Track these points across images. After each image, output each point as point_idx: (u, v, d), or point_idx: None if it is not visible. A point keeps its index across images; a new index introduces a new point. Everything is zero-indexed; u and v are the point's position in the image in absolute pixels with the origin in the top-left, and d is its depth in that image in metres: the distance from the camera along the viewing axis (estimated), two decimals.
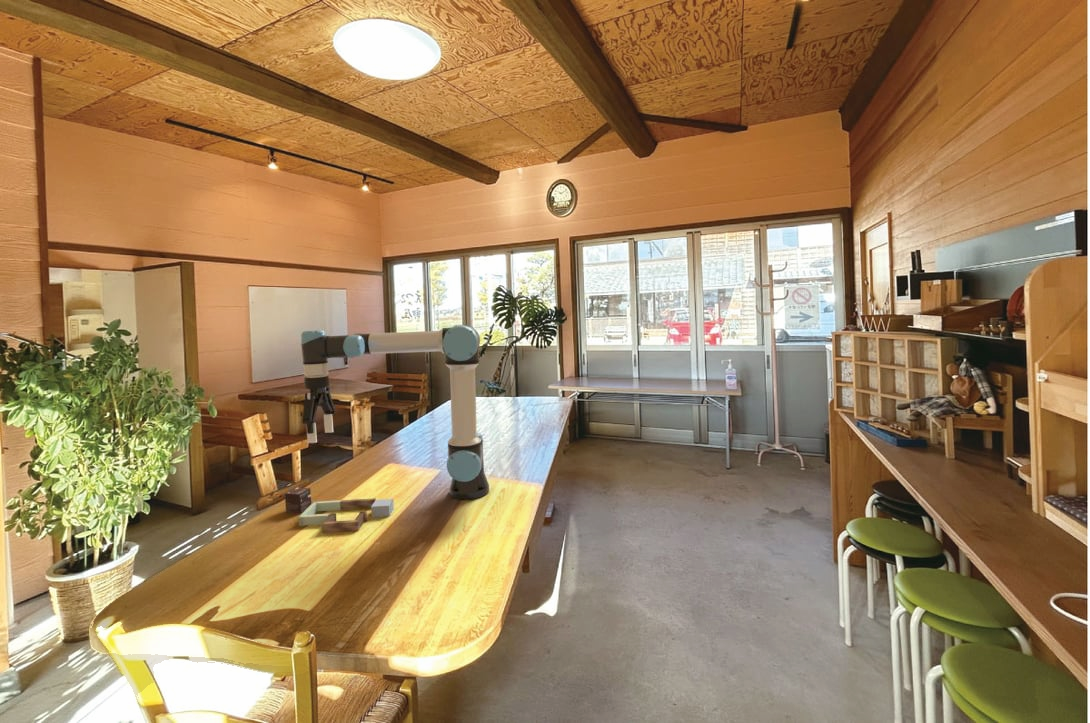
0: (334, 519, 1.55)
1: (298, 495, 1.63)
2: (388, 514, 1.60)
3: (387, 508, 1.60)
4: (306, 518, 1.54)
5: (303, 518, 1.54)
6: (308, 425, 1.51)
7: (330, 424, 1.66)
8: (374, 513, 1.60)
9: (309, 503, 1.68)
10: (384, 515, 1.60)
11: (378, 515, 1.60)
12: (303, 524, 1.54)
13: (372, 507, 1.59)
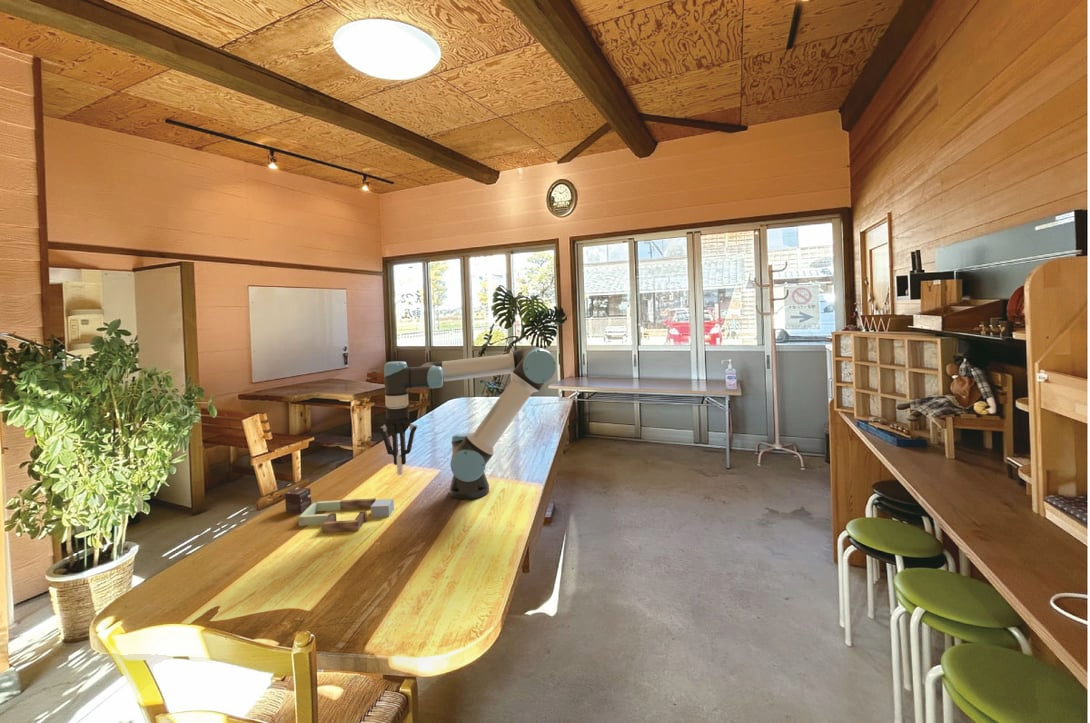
0: (334, 519, 1.55)
1: (298, 495, 1.63)
2: (388, 514, 1.60)
3: (387, 508, 1.60)
4: (306, 518, 1.54)
5: (303, 518, 1.54)
6: (394, 456, 1.62)
7: None
8: (374, 513, 1.60)
9: (309, 503, 1.68)
10: (384, 515, 1.60)
11: (378, 515, 1.60)
12: (303, 524, 1.54)
13: (372, 507, 1.60)
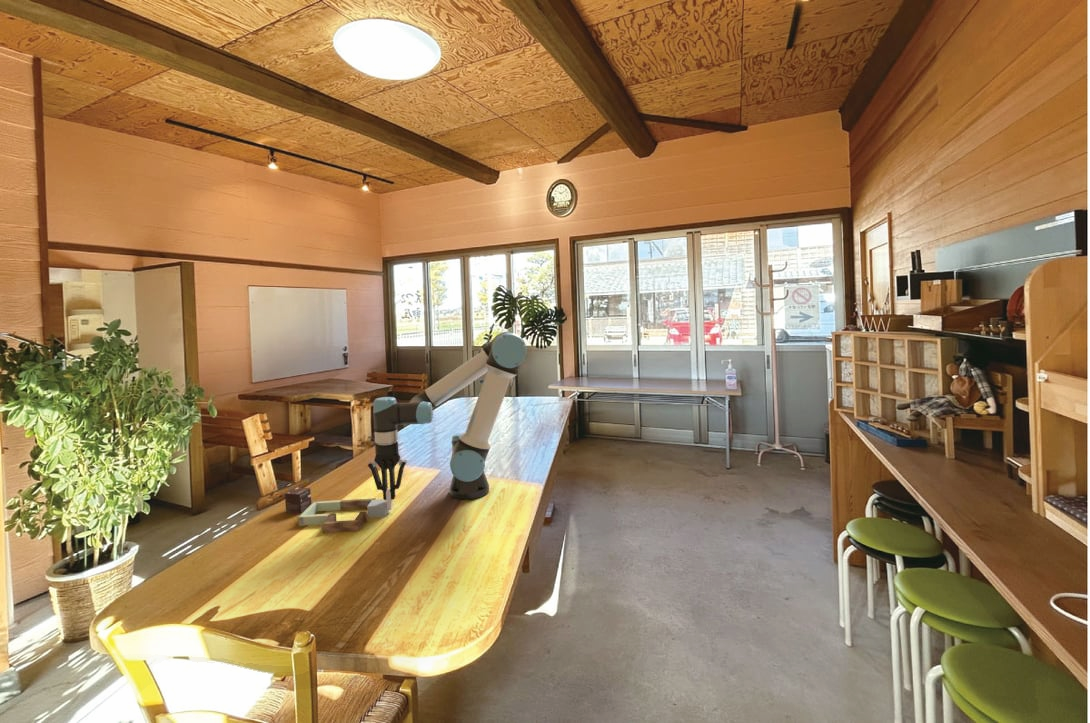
0: (334, 519, 1.55)
1: (298, 495, 1.63)
2: (384, 514, 1.60)
3: (383, 508, 1.60)
4: (306, 518, 1.54)
5: (303, 518, 1.54)
6: None
7: None
8: (370, 513, 1.60)
9: (309, 503, 1.68)
10: (380, 515, 1.60)
11: (374, 515, 1.60)
12: (303, 524, 1.54)
13: (368, 507, 1.59)
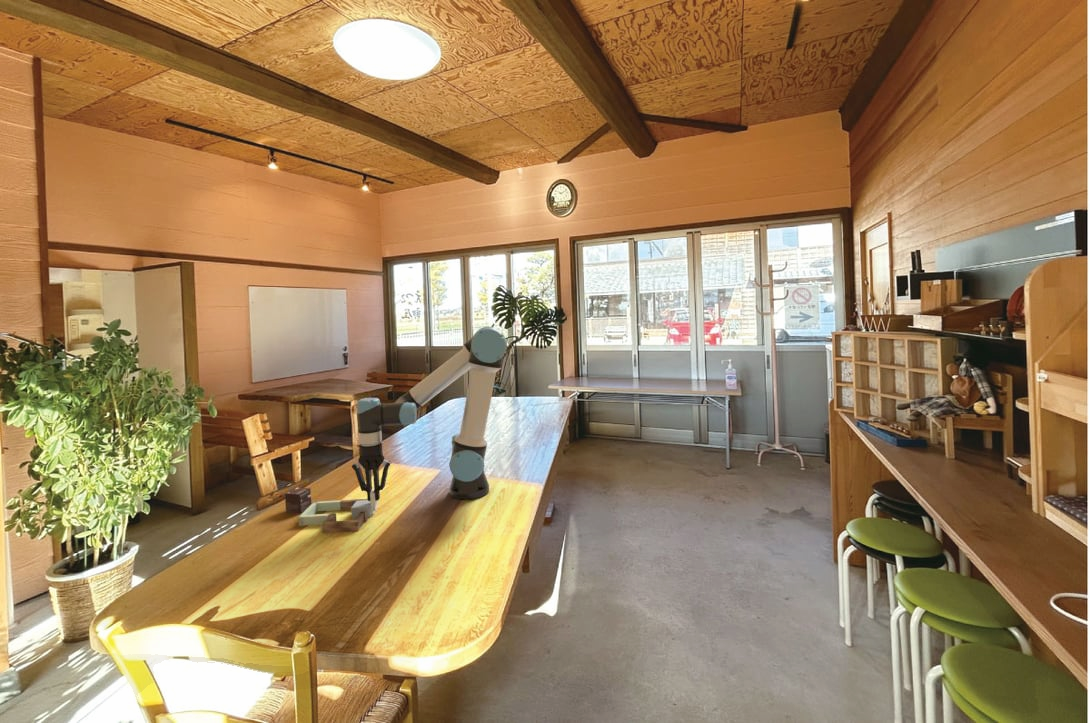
0: (334, 519, 1.55)
1: (298, 495, 1.63)
2: (368, 515, 1.59)
3: (367, 509, 1.59)
4: (306, 518, 1.54)
5: (303, 518, 1.54)
6: None
7: None
8: (355, 515, 1.59)
9: (309, 503, 1.68)
10: None
11: None
12: (303, 524, 1.54)
13: (352, 508, 1.59)
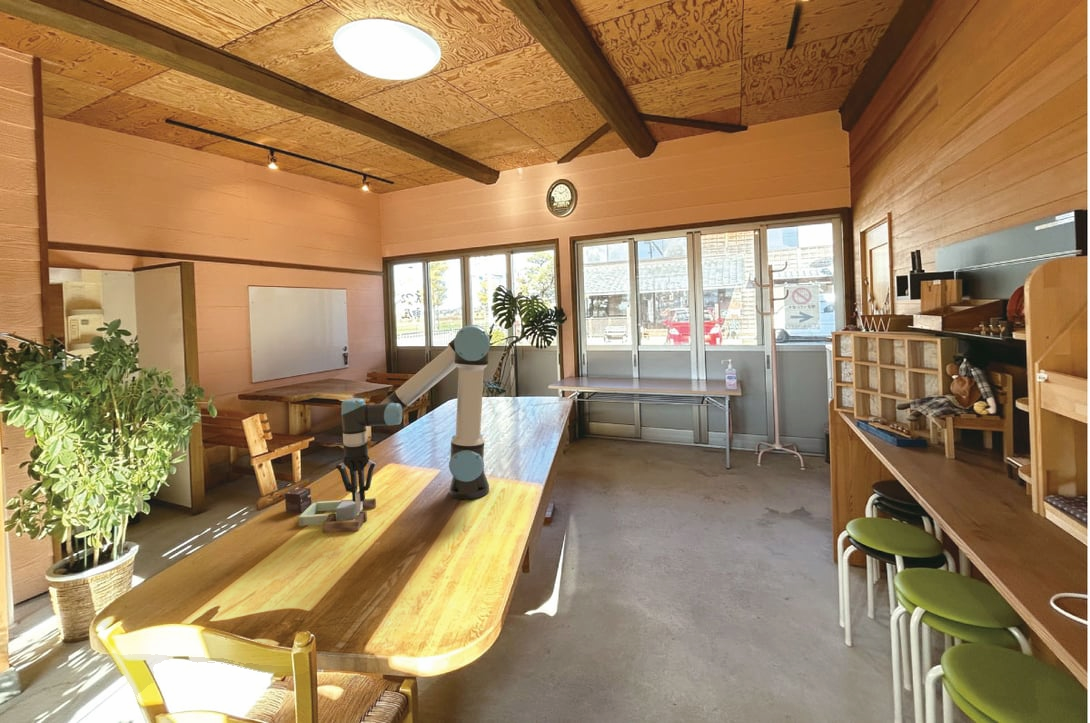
0: (334, 519, 1.55)
1: (298, 495, 1.63)
2: (353, 516, 1.59)
3: (352, 510, 1.59)
4: (306, 518, 1.54)
5: (303, 518, 1.54)
6: None
7: None
8: (339, 515, 1.59)
9: (309, 503, 1.68)
10: (349, 517, 1.59)
11: (343, 517, 1.59)
12: (303, 524, 1.54)
13: (337, 509, 1.58)
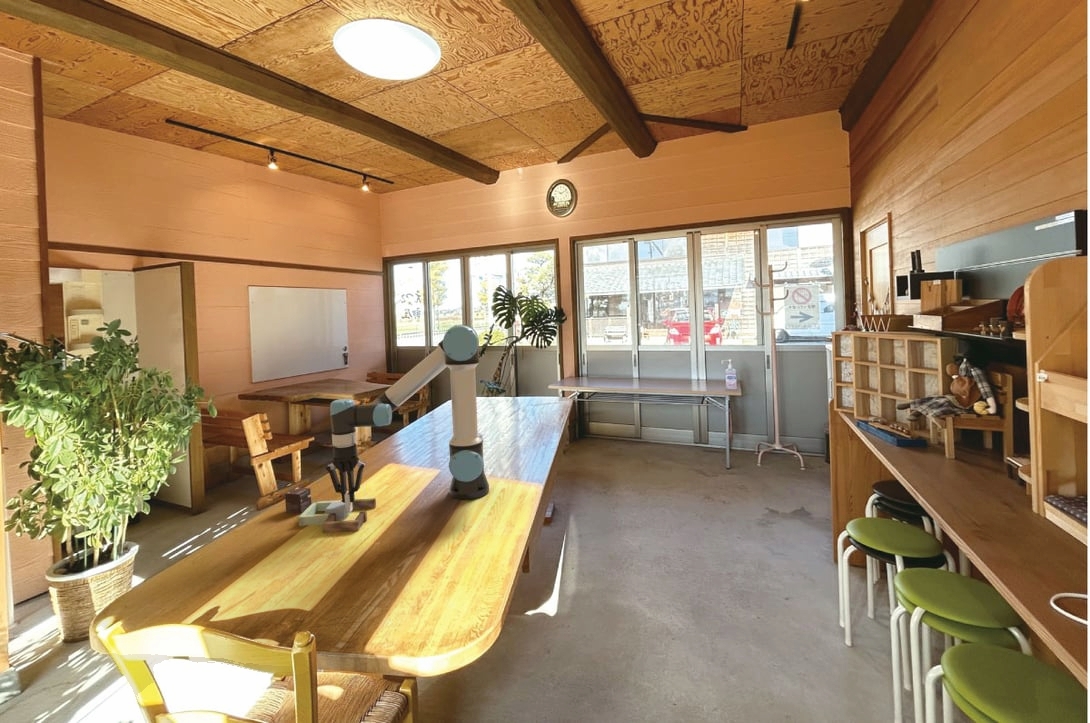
0: (334, 519, 1.55)
1: (298, 495, 1.63)
2: (343, 517, 1.59)
3: (342, 511, 1.59)
4: (306, 518, 1.54)
5: (303, 518, 1.54)
6: None
7: None
8: None
9: (309, 503, 1.68)
10: (339, 518, 1.59)
11: None
12: (303, 524, 1.54)
13: (326, 510, 1.58)
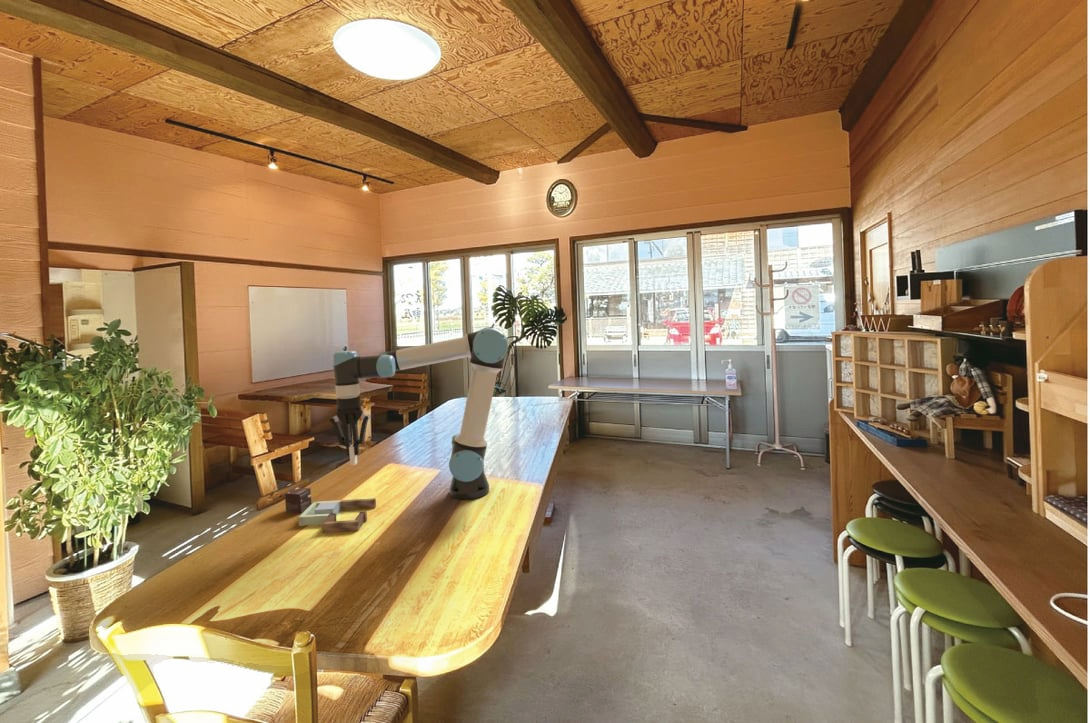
0: (334, 519, 1.55)
1: (298, 495, 1.63)
2: None
3: (331, 511, 1.58)
4: (306, 518, 1.54)
5: (303, 518, 1.54)
6: None
7: None
8: None
9: (309, 503, 1.68)
10: None
11: None
12: (303, 524, 1.54)
13: (315, 510, 1.58)
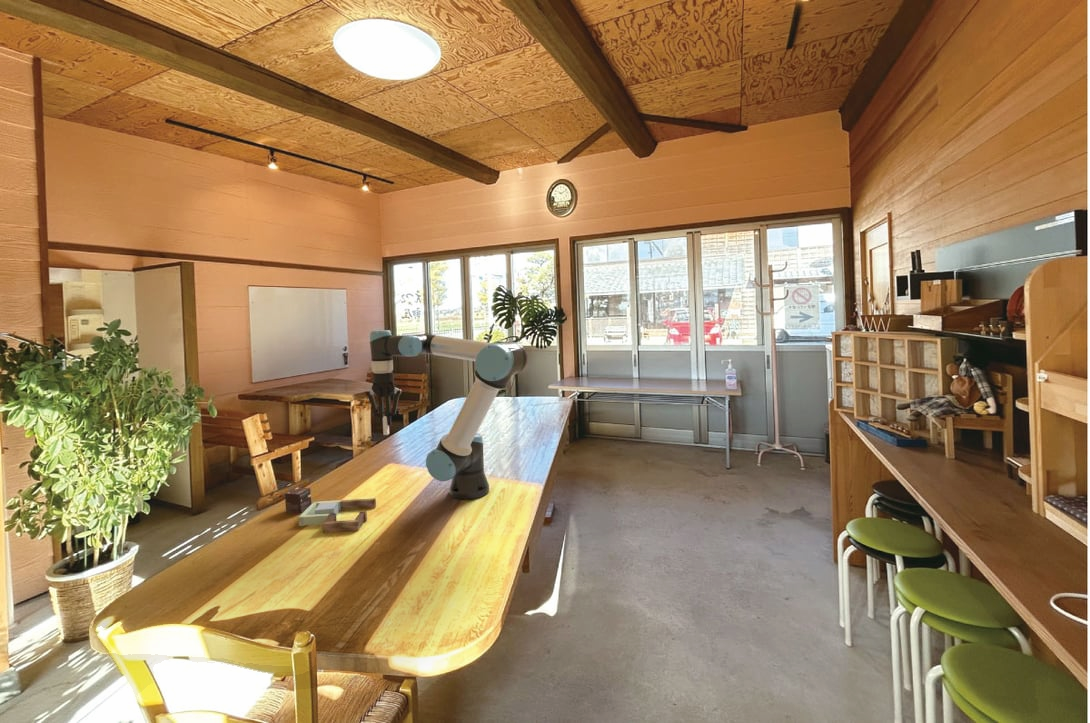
0: (334, 519, 1.55)
1: (298, 495, 1.63)
2: None
3: (332, 511, 1.59)
4: (306, 518, 1.54)
5: (303, 518, 1.54)
6: (380, 418, 1.75)
7: None
8: None
9: (309, 503, 1.68)
10: None
11: None
12: (303, 524, 1.54)
13: (316, 511, 1.58)
